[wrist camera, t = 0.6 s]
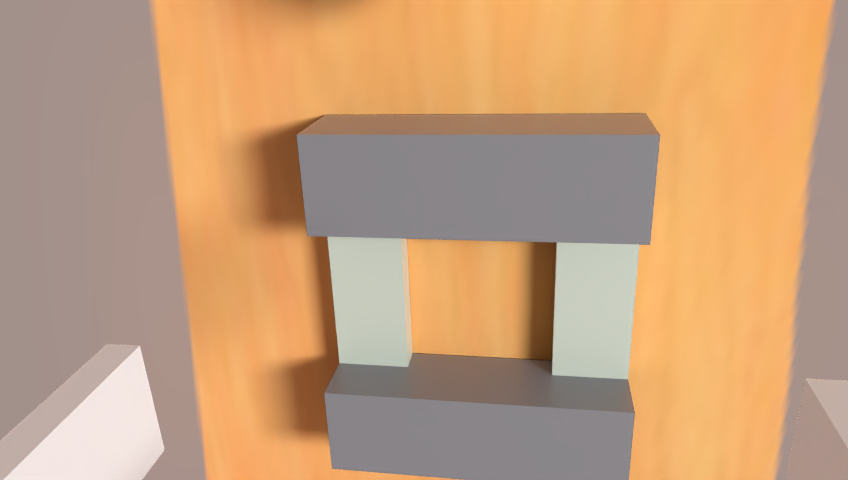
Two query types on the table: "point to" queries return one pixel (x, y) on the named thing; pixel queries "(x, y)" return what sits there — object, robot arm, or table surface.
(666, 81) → the table surface
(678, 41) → the table surface
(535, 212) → the frame
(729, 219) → the table surface
